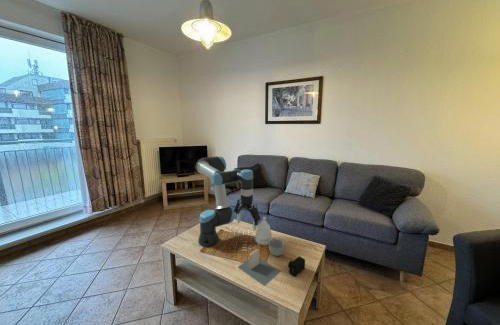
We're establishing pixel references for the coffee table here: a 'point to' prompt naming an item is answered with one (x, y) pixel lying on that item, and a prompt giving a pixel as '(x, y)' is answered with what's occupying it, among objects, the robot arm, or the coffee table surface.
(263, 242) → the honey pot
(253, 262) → the tile
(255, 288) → the coffee table surface
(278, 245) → the teacup
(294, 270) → the digital camera
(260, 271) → the mat
